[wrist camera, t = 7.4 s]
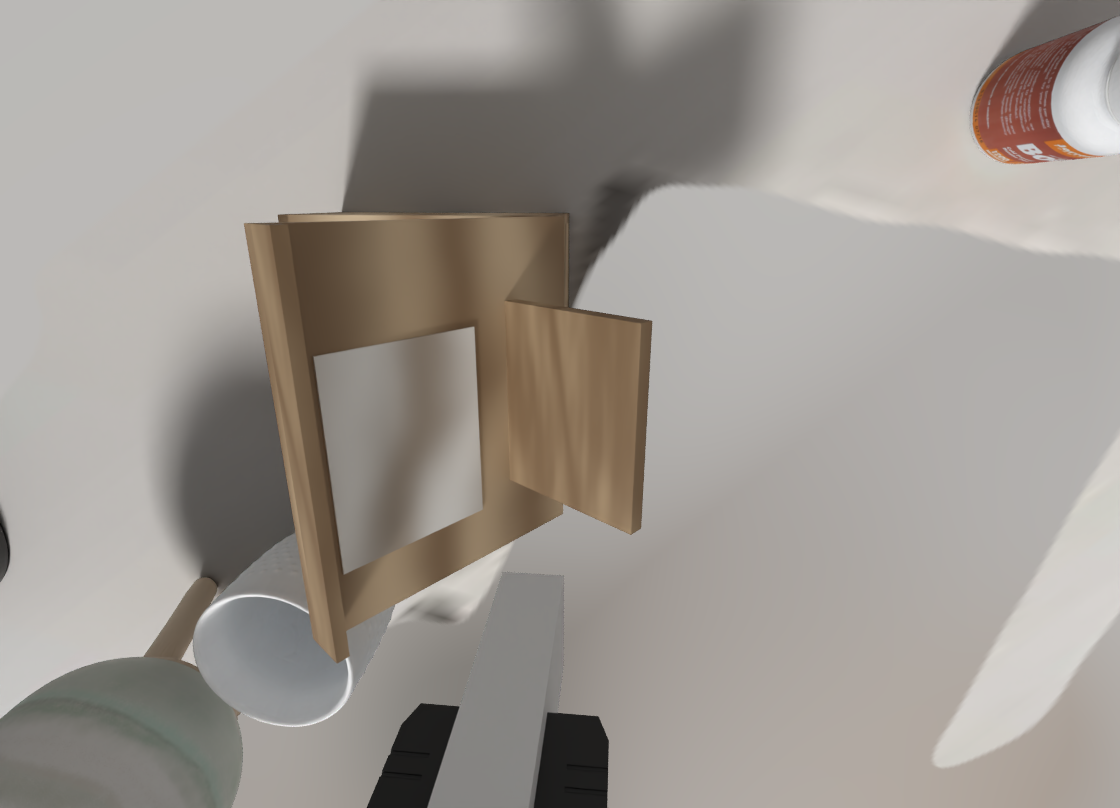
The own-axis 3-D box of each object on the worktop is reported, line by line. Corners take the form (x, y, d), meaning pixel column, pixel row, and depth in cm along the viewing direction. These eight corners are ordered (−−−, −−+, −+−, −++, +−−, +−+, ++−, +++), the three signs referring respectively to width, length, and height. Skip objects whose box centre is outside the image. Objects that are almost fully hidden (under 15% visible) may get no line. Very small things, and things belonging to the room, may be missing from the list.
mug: (300, 628, 54) (204, 755, 41) (236, 529, 51) (112, 634, 38) (442, 584, 50) (383, 708, 38) (382, 476, 48) (298, 571, 35)
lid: (313, 639, 27) (430, 761, 21) (243, 223, 21) (379, 232, 15) (556, 510, 38) (676, 567, 32) (555, 216, 32) (703, 219, 26)
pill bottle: (962, 173, 36) (1099, 162, 26) (967, 62, 34) (1116, 2, 24) (1073, 154, 35) (1262, 135, 25) (1085, 39, 33) (1294, -33, 23)
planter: (167, 532, 52) (-146, 760, 31) (341, 589, 52) (148, 855, 31) (156, 667, 57) (-115, 940, 36) (314, 718, 57) (134, 1020, 36)
